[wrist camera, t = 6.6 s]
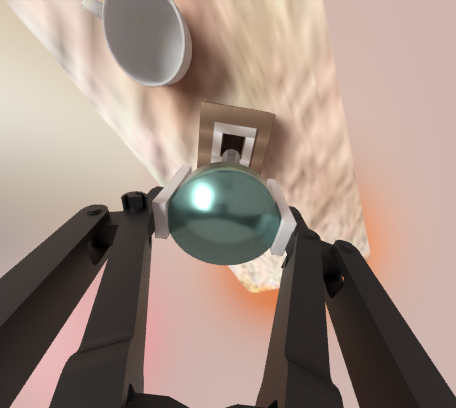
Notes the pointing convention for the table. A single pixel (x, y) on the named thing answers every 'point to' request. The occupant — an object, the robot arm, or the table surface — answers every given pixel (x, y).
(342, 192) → the table surface
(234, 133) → the block
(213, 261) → the teal rounded knob
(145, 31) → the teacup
